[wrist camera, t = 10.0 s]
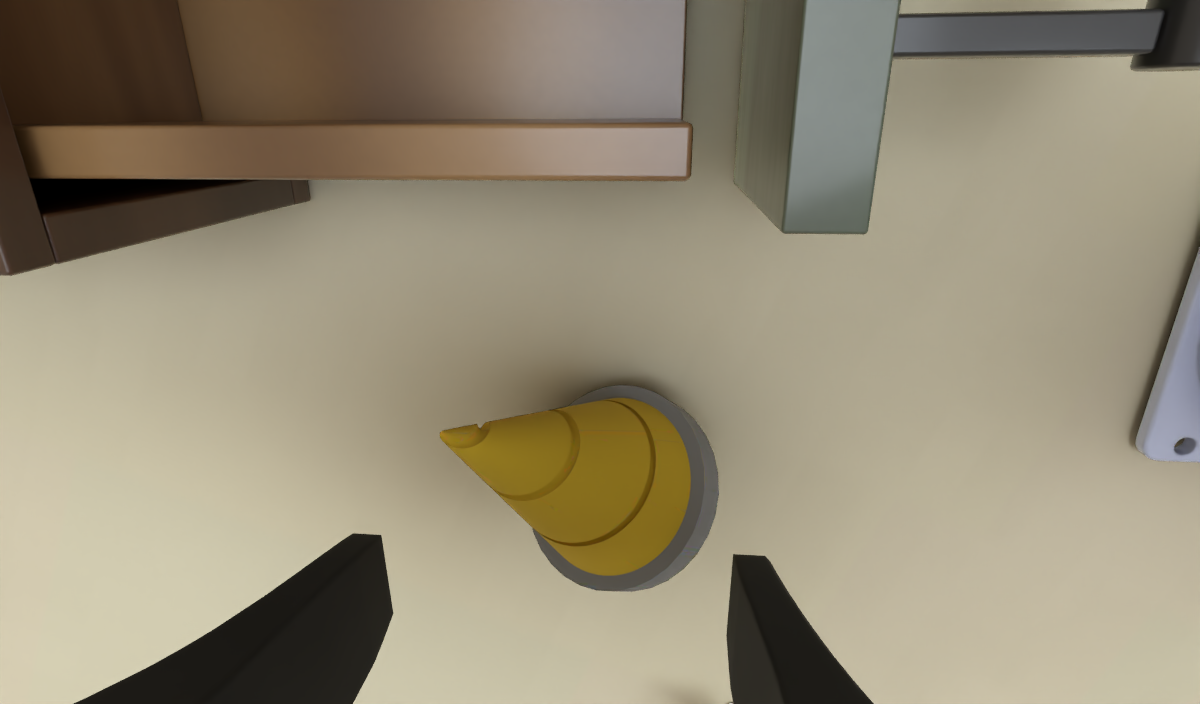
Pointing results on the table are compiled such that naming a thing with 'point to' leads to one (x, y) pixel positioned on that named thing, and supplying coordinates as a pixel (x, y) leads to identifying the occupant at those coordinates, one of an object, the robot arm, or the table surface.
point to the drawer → (503, 88)
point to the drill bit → (603, 484)
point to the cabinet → (113, 208)
